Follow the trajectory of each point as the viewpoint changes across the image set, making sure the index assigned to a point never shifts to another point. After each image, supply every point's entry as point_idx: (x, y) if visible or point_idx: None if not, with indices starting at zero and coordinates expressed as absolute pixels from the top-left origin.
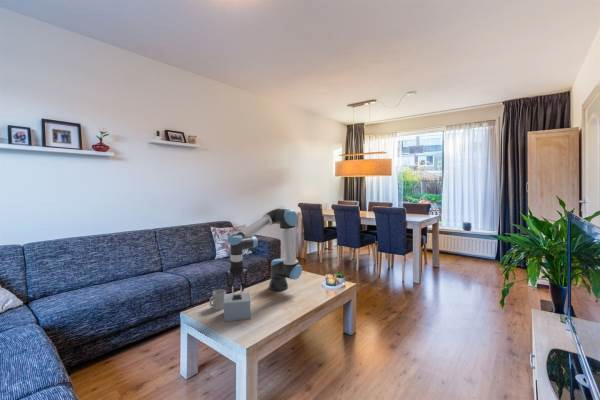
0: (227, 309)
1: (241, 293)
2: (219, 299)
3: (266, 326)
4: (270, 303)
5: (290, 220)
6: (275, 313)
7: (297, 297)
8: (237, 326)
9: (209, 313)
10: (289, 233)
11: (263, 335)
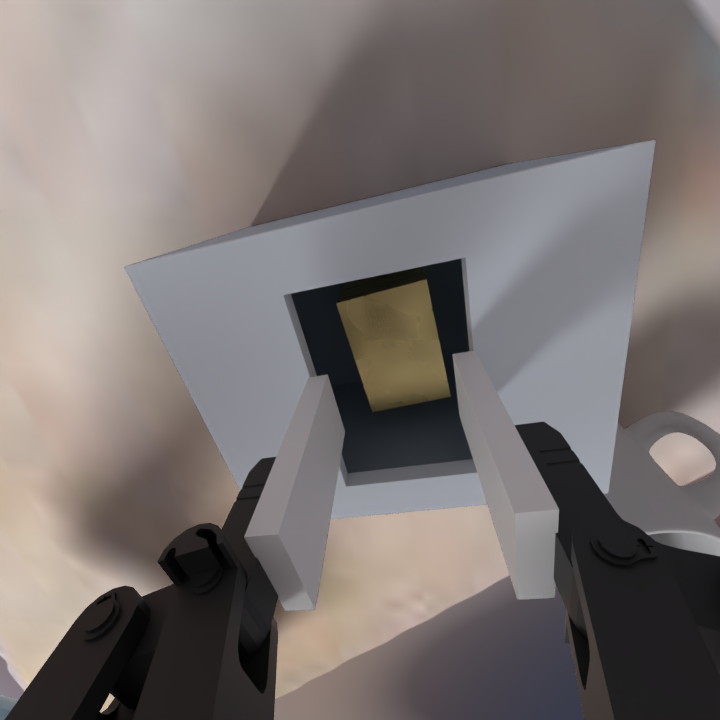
0: (510, 168)
1: (300, 416)
2: (613, 471)
3: (26, 36)
4: (182, 479)
5: None
6: (76, 328)
7: (45, 538)
8: (341, 27)
9: (655, 344)
10: None
11: None
